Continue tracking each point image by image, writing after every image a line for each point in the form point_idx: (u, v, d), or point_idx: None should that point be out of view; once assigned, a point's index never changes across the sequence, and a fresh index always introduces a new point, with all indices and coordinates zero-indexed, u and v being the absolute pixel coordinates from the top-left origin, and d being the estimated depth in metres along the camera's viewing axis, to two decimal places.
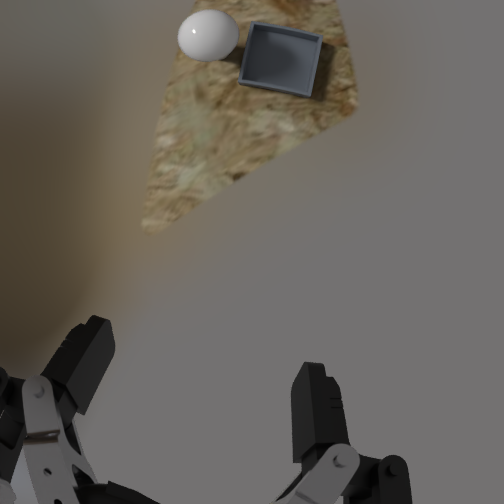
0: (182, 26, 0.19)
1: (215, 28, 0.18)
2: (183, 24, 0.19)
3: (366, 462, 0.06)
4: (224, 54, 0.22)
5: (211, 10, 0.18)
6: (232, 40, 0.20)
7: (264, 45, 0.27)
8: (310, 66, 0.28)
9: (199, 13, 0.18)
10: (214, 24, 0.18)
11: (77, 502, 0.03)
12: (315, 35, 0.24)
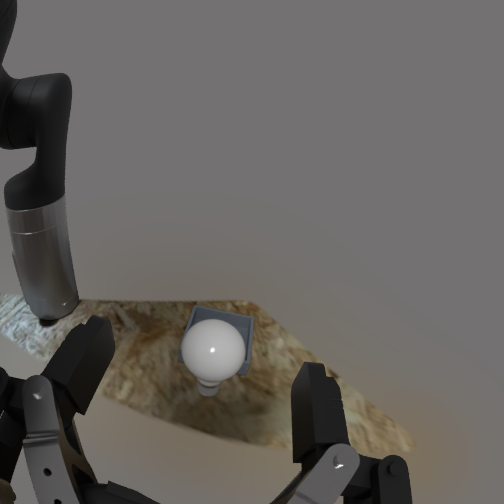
0: (208, 352, 0.22)
1: (219, 321, 0.25)
2: (205, 351, 0.22)
3: (366, 462, 0.06)
4: None
5: (190, 330, 0.25)
6: None
7: None
8: None
9: (194, 335, 0.24)
10: (214, 321, 0.25)
11: (77, 502, 0.03)
12: (195, 309, 0.38)
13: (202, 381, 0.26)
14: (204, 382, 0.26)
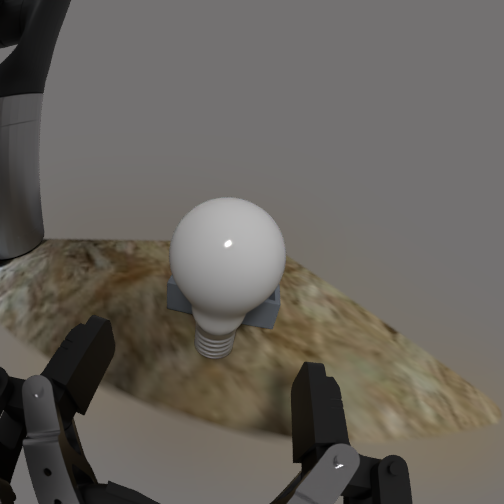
0: (222, 234, 0.12)
1: None
2: (216, 233, 0.12)
3: (366, 462, 0.06)
4: None
5: (188, 213, 0.14)
6: None
7: None
8: None
9: (196, 212, 0.13)
10: None
11: (77, 502, 0.03)
12: None
13: (205, 321, 0.15)
14: (209, 323, 0.15)
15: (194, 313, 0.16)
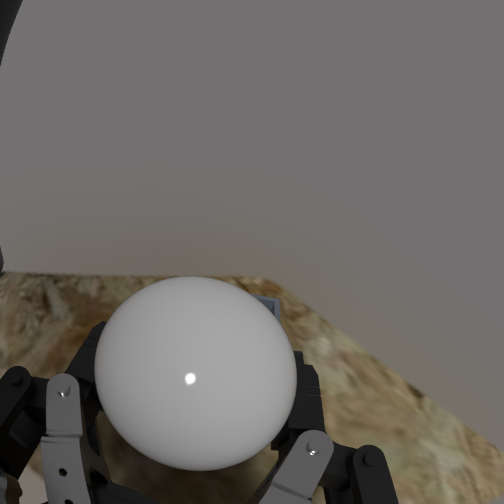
0: (166, 395, 0.05)
1: (213, 280, 0.08)
2: (155, 391, 0.05)
3: (342, 451, 0.07)
4: None
5: (118, 308, 0.07)
6: None
7: None
8: None
9: (122, 324, 0.06)
10: (197, 279, 0.07)
11: None
12: None
13: None
14: None
15: None
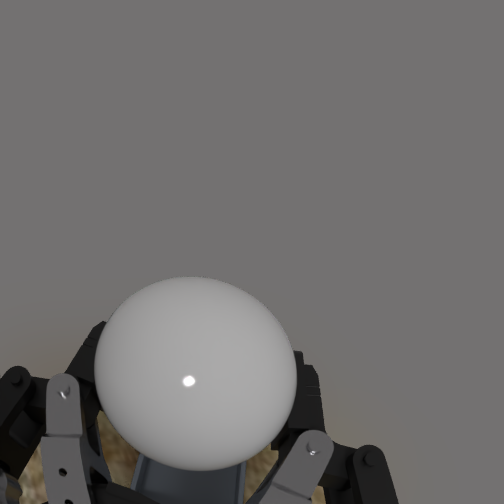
0: (165, 396, 0.05)
1: (213, 280, 0.08)
2: (154, 391, 0.05)
3: (342, 451, 0.07)
4: None
5: (118, 309, 0.07)
6: None
7: (165, 497, 0.14)
8: None
9: (122, 324, 0.06)
10: (197, 279, 0.07)
11: None
12: None
13: None
14: None
15: None
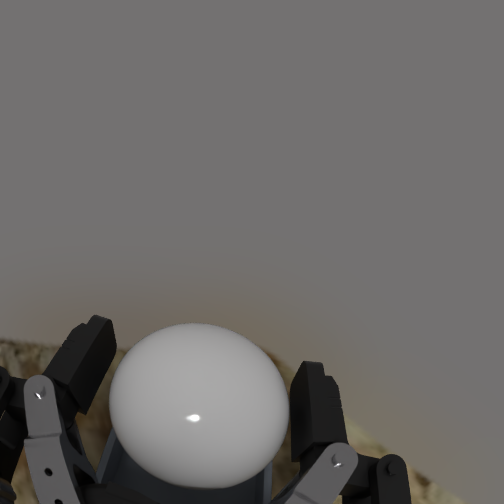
0: (177, 440, 0.05)
1: (215, 332, 0.08)
2: (167, 436, 0.05)
3: (365, 461, 0.06)
4: None
5: (128, 355, 0.07)
6: None
7: (152, 483, 0.10)
8: None
9: (135, 376, 0.06)
10: (200, 332, 0.08)
11: (78, 502, 0.03)
12: None
13: None
14: None
15: None
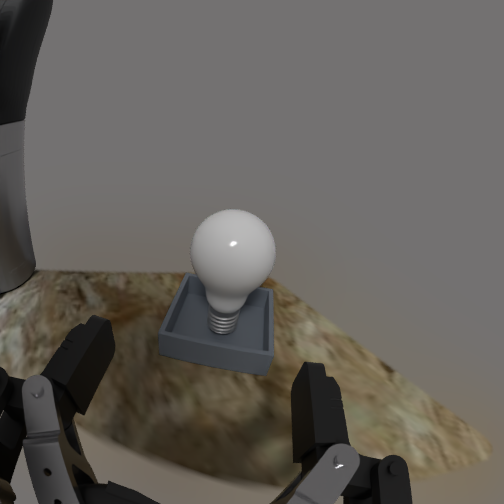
0: (229, 236, 0.17)
1: None
2: (225, 235, 0.17)
3: (366, 462, 0.06)
4: None
5: (204, 221, 0.20)
6: None
7: None
8: None
9: (210, 220, 0.18)
10: None
11: (77, 502, 0.03)
12: (186, 278, 0.26)
13: (216, 301, 0.20)
14: (219, 302, 0.20)
15: (208, 296, 0.21)
